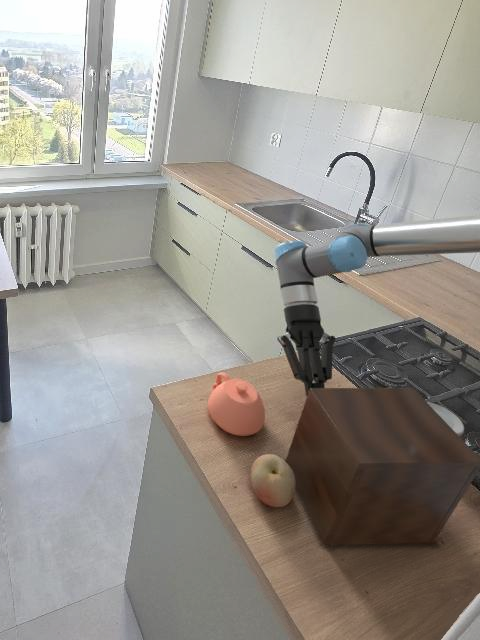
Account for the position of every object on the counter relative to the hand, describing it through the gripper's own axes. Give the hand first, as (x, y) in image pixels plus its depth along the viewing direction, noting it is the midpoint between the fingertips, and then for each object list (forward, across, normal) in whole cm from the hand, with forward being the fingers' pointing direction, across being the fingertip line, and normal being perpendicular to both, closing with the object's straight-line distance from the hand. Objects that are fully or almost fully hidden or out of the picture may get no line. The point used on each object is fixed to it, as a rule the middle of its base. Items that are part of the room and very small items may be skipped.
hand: (319, 414), depth 91 cm
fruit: (+14, +16, +5) cm, 22 cm away
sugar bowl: (+1, +17, -8) cm, 19 cm away
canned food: (+8, -21, 0) cm, 22 cm away
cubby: (+15, 0, +6) cm, 16 cm away
